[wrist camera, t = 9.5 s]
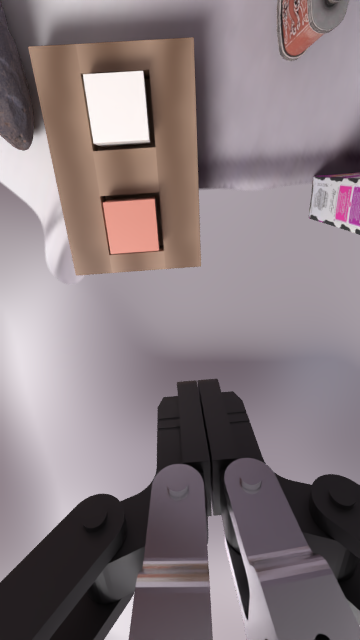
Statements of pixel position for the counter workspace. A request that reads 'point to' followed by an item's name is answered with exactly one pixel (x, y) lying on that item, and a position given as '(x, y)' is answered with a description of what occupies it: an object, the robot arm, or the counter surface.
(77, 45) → the frame
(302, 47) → the lighter
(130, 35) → the counter surface
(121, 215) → the salmon pink block
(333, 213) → the candy bar box
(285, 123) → the counter surface
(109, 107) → the key white
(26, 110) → the perforated stone tool
